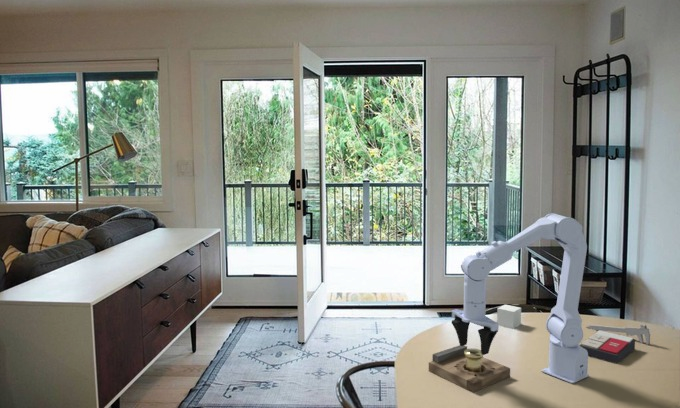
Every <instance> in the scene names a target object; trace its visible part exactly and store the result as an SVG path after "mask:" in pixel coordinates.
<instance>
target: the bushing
mask: <svg viewBox="0 0 680 408" xmlns="http://www.w3.org/2000/svg"><path fill="white" fill-rule="evenodd" d="M464 356H465V357H466V370H467V371H469V372H481V358H483V357H484V355H483V354H482V353H481V349H478V348H471V347H470V348H467V349H466V350H465V351H464Z"/></svg>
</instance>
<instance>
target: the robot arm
mask: <svg viewBox="0 0 680 408" xmlns="http://www.w3.org/2000/svg"><path fill="white" fill-rule="evenodd" d="M583 228H584V227H583V225H581V224H580V223H579V222H578V220H576V219H575V218H573V217H567V216H565V215H560V214H558V213H555V212H552V213H548V214H546V215H545V216H544V217H543V216H542V217H540V218H539V219H537V220H536V221H535V222H534V223H533V224H531V225H530V226H528V227H526V228H525V229H523V230H522V231H520V232H519V233H517V234H516V235H514V236H513V237H511V238H509V239H508V240H507V241H503V240H498V241H496V240H493V241H491V242H490V244H491V245H489V246H488V247H486V248H484V249H482V250H481V251H480V250H478V251H476V252H475V254H473V255H472V254H471V255H468V256H466V257H465V258H464V260H463V261H462V264H460V268H461V271H462V273H464V275H463V278H464V279H463V280H464V281H463V310H462V309H461V310H460V309H458V308H455V309H453V310H451V317H452V318H453V320H451V324H452V326H453V328H454V329H455V333H456V335H457V339H458V343H459V345H460V346H467V344H468V336H469V335H468V334H469V333H468V332H469V326H470V323H471V324H474V325H477V326H479V327H483V328H480V329H478V330H477V332H478V336H479V339H480V350H481V353H482V354H483V356H484V355H487V354H489V352H490V350H491V345H492V343H493V340H494V339H495V337H496V335H497V333H498V332H499V326H500V325H499V323H497V321H495V320H493V319H491V318H490V317H488V316H487V315H486V305H487V303H486V301H487V299H486V298H487V295H486V294H487V293H486V291H487V285H486V284H487V283H486V281H487V278H488V277H489V275H490V273H491V272H492V271H494V270H495V269H496V268H499V267H500V266H501V265H502V266H503V264H506V263H507V262H508V261H510V260H512V258H513V255H514V253H516V252H518V251H519V250H520V249H523V248H525V247H527V246H529V245H530V244H532V243H535V242H536V241H538V240H541V239H543V240H555V241H556V242H557V243H558V244H559V245H560V246H561V247H562V248H563V250H564V251H563V258H562V265H561V269H560V270H561V271H560V278H559V285H558V292H557V298H556V299H557V300H556V305H554V306H553V307H552V308H551V310H550V314H549V316H548V318H547V319H546V322H545V328H546V330H547V332H548V333H549V347H548V367H545V368H542V369H541V372H543V373H545V374H547V375H550V376H552V377H554V378H558V379H560V380H562V381H564V382H565V381H566V382H568V383H570V384H575V383H578V381H581V380H583V379H585V378H587V377H589V376H590V374H589V373H588V369H589V356H588V352H587V350H586V349H584V348H582V347H581V346H580V345H581V344H580V343H581V342H582V340H583V339H584V330H583V326H582V322H583V319H582V317H581V315H580V313H579V310H578V309H579V303H580V296H581V290H582V284H583V279H584V277H583V276H584V270H585V264H586V258H587V257H586V256H587V252H588V251H587V250H588V244H587V241H586V238H585V235H584V233H583V230H584V229H583Z"/></svg>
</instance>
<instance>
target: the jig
mask: <svg viewBox="0 0 680 408" xmlns="http://www.w3.org/2000/svg"><path fill="white" fill-rule="evenodd" d="M466 349H468V346H467V345H464V346H460V344H459V345H456V346H453V347H450V348H448V349H444V350H442V351H441V350H440V351H438V352H434V353H432V360H430V361H429V362H428V372H430V373H432V374H434V375H436V376H437V377H440V378H443V379H445V380H446V381H448V382H451V383H453V384H455V385H457V386H459V387H461V388H464V389H466V390H467V391H469V392H471V393H474V392H477V391H478V390H482V389H484V388H487V387H489V386H492V385H494V384H496V383H499V382H502V381H504V380H507V379H509V378H511V368H510V367H509V366H506V365H503V364H500V363H498V362H496V361H494V360H491V359H488V358H487V357H485V356H483V358H481V372H469V371H467V370H466V357H465V356H464V351H465V350H466Z"/></svg>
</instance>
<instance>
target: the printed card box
mask: <svg viewBox="0 0 680 408" xmlns="http://www.w3.org/2000/svg"><path fill="white" fill-rule="evenodd" d="M579 345H580V346H581V347H582V348H584V349H586V350H587V352H588V357H590V358H593V359H594V358H595V359H598V360H602V361H606V362H610V363H613V364H619V363H621V362H622V361H623V360H624V359H626V357H627V356H629V354H631V353H633V352H634V351H635V350H636V348H635V347H636V339H635V338H634V337H631V336H627V335H626V336H625V335H622V334H617V333H613V332H610V331H601V330H596V331H595V333H592V335H590V336H589V337H588V338H587V339H585V340H584V341H583V342H582V343H581V344H579Z"/></svg>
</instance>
